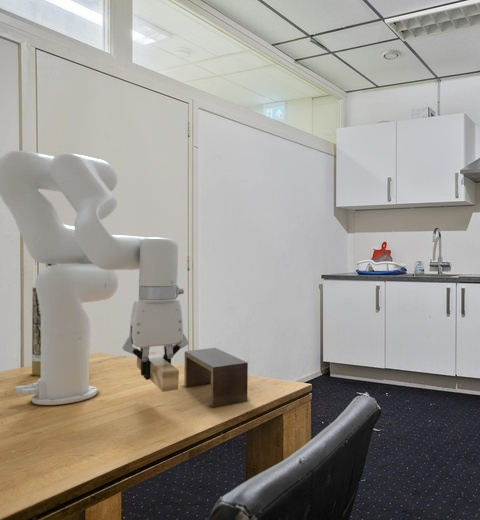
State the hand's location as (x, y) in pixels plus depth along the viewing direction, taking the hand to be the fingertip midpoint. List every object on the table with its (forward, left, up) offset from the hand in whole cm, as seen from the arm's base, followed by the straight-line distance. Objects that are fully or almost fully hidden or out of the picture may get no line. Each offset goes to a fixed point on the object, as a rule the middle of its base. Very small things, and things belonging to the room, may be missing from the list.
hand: (155, 376), depth 103 cm
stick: (0, 0, 0) cm, 0 cm away
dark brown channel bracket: (+14, +5, -7) cm, 17 cm away
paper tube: (-17, +52, -7) cm, 55 cm away
